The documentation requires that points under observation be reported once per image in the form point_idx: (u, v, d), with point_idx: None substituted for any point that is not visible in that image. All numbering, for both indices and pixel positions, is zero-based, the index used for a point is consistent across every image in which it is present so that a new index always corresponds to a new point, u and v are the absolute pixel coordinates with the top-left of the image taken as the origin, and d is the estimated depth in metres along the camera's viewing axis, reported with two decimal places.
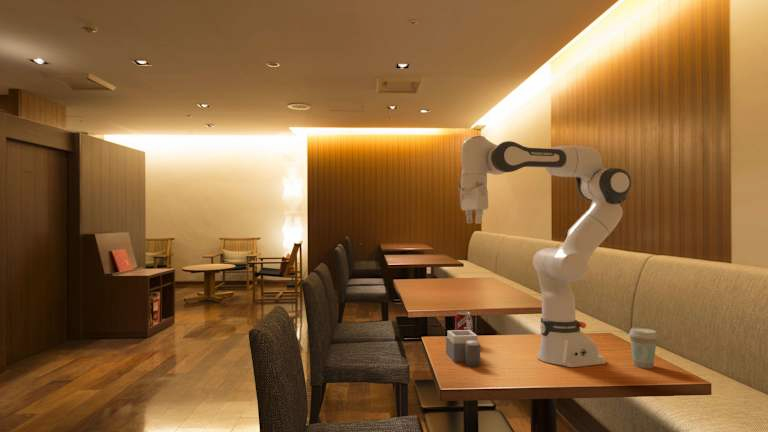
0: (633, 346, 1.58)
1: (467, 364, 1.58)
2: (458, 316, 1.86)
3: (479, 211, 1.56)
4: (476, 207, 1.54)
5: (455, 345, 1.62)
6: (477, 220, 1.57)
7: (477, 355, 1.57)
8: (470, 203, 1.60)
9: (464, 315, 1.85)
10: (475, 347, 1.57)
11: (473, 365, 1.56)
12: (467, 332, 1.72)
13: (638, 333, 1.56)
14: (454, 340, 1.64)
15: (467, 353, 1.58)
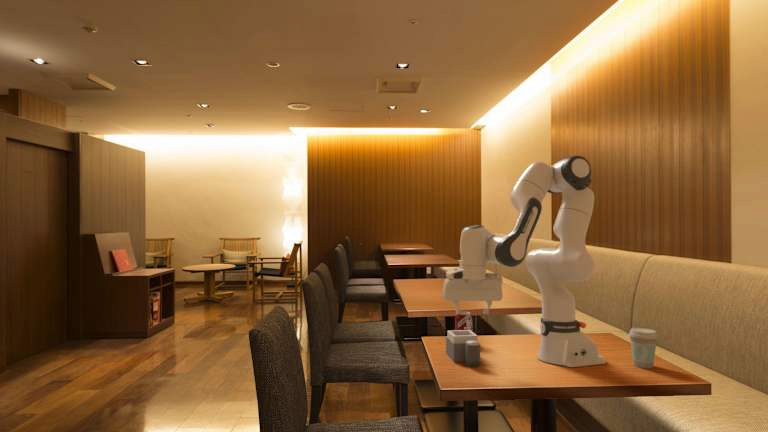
0: (633, 346, 1.58)
1: (467, 364, 1.58)
2: (458, 316, 1.86)
3: None
4: (497, 299, 1.58)
5: (455, 345, 1.62)
6: None
7: (477, 355, 1.57)
8: (479, 294, 1.57)
9: (464, 315, 1.85)
10: (475, 347, 1.57)
11: (473, 365, 1.56)
12: (467, 332, 1.72)
13: (638, 333, 1.56)
14: (454, 340, 1.64)
15: (467, 353, 1.58)
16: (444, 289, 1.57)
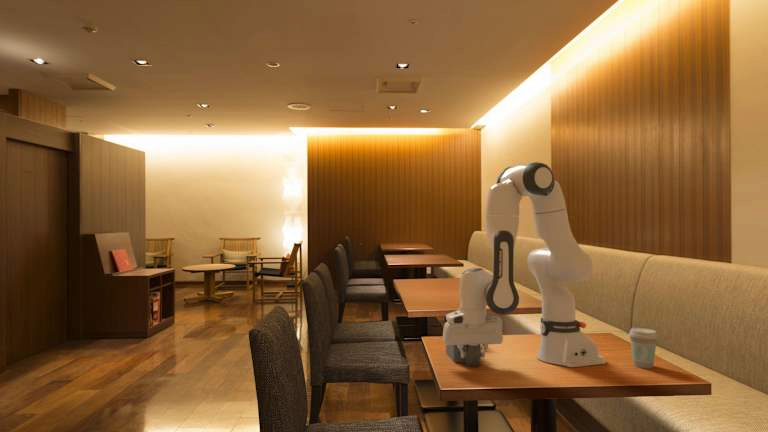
0: (633, 346, 1.58)
1: (467, 364, 1.58)
2: None
3: None
4: (498, 342, 1.58)
5: (455, 345, 1.62)
6: None
7: (477, 355, 1.57)
8: (479, 338, 1.57)
9: None
10: (475, 346, 1.57)
11: (473, 365, 1.57)
12: None
13: (638, 333, 1.56)
14: None
15: (467, 353, 1.58)
16: (444, 333, 1.57)
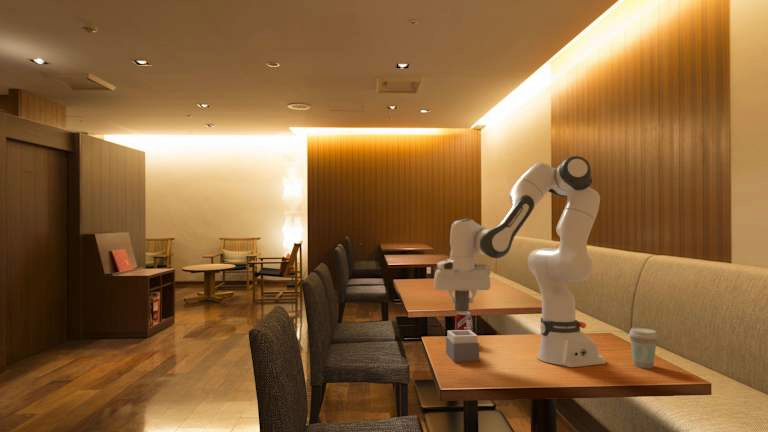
0: (633, 346, 1.58)
1: (456, 308, 1.67)
2: (458, 316, 1.86)
3: None
4: (486, 288, 1.68)
5: (455, 345, 1.62)
6: None
7: (466, 300, 1.66)
8: (468, 284, 1.67)
9: (464, 315, 1.85)
10: (464, 292, 1.66)
11: (462, 309, 1.66)
12: (467, 332, 1.72)
13: (638, 333, 1.56)
14: (454, 340, 1.64)
15: (456, 298, 1.67)
16: (435, 279, 1.67)
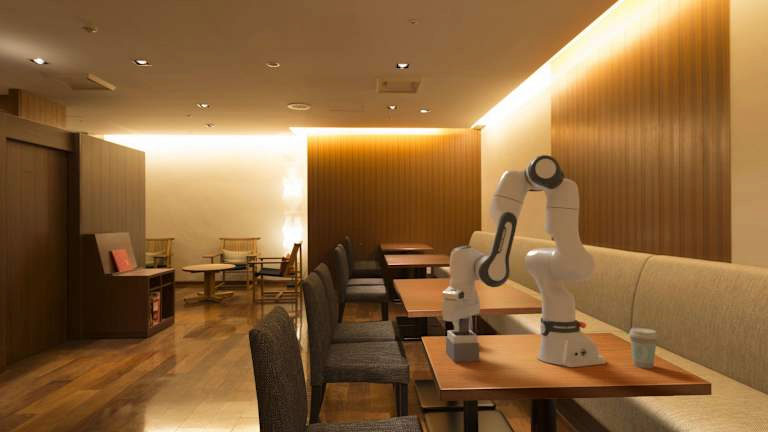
0: (633, 346, 1.58)
1: None
2: None
3: None
4: (478, 312, 1.74)
5: (455, 345, 1.62)
6: None
7: None
8: (469, 310, 1.69)
9: None
10: (468, 319, 1.67)
11: None
12: None
13: (638, 333, 1.56)
14: (454, 340, 1.64)
15: (461, 326, 1.66)
16: (448, 310, 1.61)
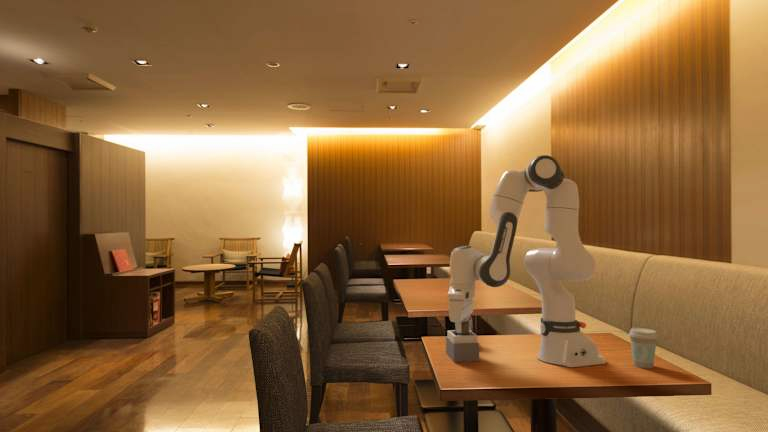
0: (633, 346, 1.58)
1: None
2: None
3: None
4: (472, 311, 1.75)
5: (455, 345, 1.62)
6: None
7: None
8: (468, 310, 1.69)
9: None
10: None
11: None
12: None
13: (638, 333, 1.56)
14: (454, 340, 1.64)
15: (464, 329, 1.66)
16: (456, 311, 1.59)
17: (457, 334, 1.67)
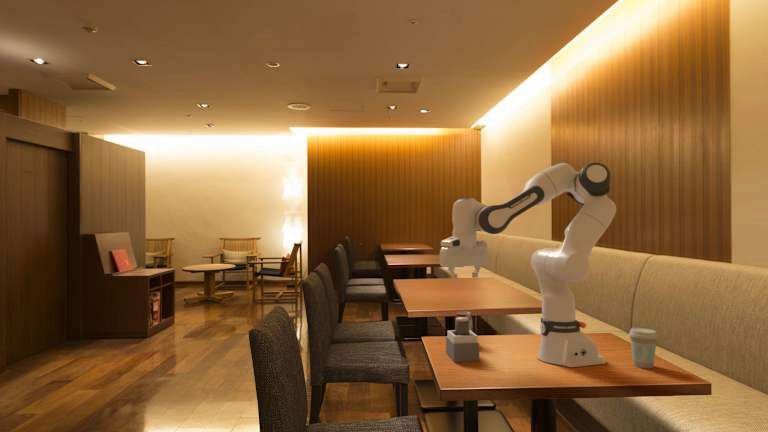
0: (633, 346, 1.58)
1: None
2: (458, 316, 1.86)
3: None
4: (485, 263, 1.78)
5: (455, 345, 1.62)
6: None
7: None
8: (471, 260, 1.75)
9: (464, 315, 1.85)
10: None
11: None
12: None
13: (638, 333, 1.56)
14: (454, 340, 1.64)
15: (464, 329, 1.66)
16: (443, 256, 1.71)
17: (457, 334, 1.67)
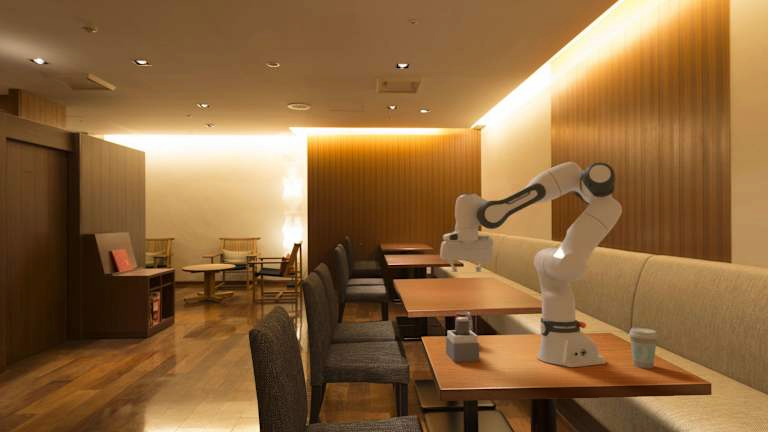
0: (633, 346, 1.58)
1: None
2: (458, 316, 1.86)
3: None
4: (488, 258, 1.80)
5: (455, 345, 1.62)
6: None
7: (469, 329, 1.68)
8: (472, 254, 1.79)
9: (464, 315, 1.85)
10: (469, 321, 1.67)
11: None
12: None
13: (638, 333, 1.56)
14: (454, 340, 1.64)
15: (464, 329, 1.66)
16: (441, 250, 1.79)
17: (457, 334, 1.67)
